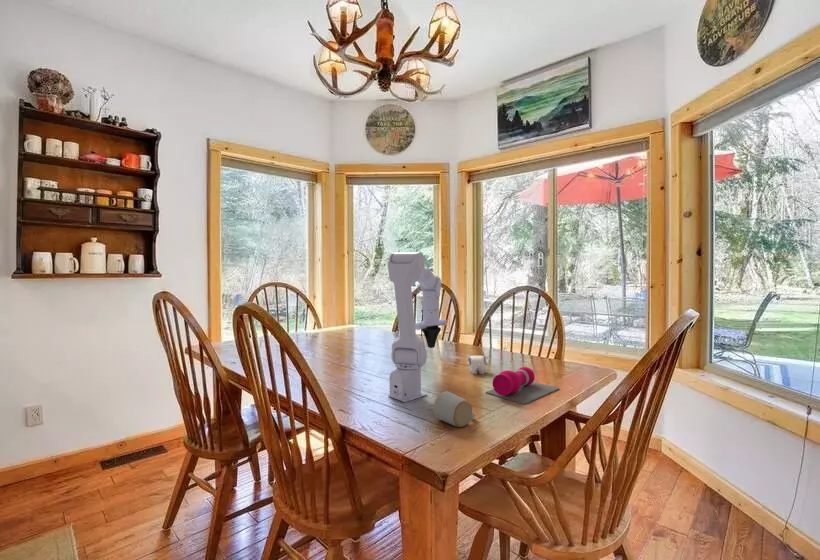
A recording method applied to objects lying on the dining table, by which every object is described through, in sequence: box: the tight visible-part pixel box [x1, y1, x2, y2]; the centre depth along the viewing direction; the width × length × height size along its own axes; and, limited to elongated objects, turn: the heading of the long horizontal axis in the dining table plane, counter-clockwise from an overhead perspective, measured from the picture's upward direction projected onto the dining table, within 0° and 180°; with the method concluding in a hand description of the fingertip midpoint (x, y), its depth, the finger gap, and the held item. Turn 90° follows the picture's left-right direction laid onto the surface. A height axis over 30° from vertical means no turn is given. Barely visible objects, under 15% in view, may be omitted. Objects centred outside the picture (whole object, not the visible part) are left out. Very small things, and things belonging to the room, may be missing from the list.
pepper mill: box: [492, 366, 536, 396], centre depth 129 cm, size 7×7×20 cm
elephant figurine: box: [467, 353, 490, 375], centre depth 152 cm, size 8×10×7 cm
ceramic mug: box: [433, 390, 476, 428], centre depth 105 cm, size 10×8×7 cm
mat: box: [485, 381, 560, 405], centre depth 129 cm, size 20×14×1 cm
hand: (431, 347), depth 146 cm, fingers closed
